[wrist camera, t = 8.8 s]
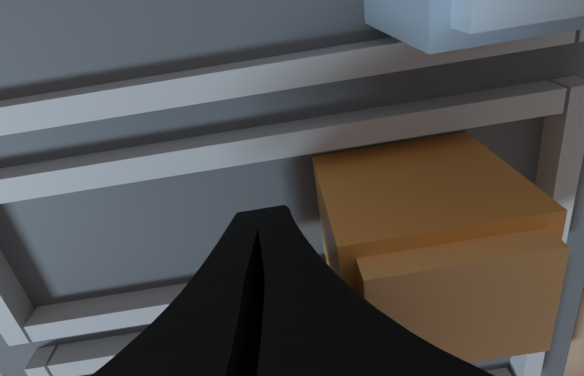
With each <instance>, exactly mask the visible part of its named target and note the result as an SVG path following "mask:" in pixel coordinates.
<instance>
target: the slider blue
mask: <svg viewBox="0 0 584 376" xmlns="http://www.w3.org/2000/svg"><path fill="white" fill-rule="evenodd" d="M363 2H364V19H365V23H366V24H368V25H370V26H372V27H374V28H376V29H378V30H380V31H382V32H384V33H386V34H388V35H390V36H392V37H394V38H396V39H398V40H400V41H402V42H404V43H406V44H408V45H410V46H412V47H415V48H417V49H419V50H421V51H423V52H425V53H427V54H435V53H441V52H447V51H453V50H459V49H465V48H472V47H478V46H484V45H490V44H496V43H502V42H509V41H515V40H521V39H527V38H533V37H539V36H546V35H552V34H558V33H564V32H570V31H576V30H583V29H584V0H363Z"/></svg>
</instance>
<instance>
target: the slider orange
mask: <svg viewBox="0 0 584 376" xmlns="http://www.w3.org/2000/svg"><path fill="white" fill-rule="evenodd" d="M312 162H313V170H314V177H315V185H316V192H317V200H318V207H319V215H320V222H321V230H322V237H323V245H324V252H325V256H326V260H327V264H328V265H329V266H330V267H331V269H332V270H333V271H334V272H335V273H336V274H337V275H338V276H339V277H340V278H341V279H342V280H344V281H345V282H346V283H347V284H348V285H349V286H350V287H351V288H352V289H354V290H355V291H356V292H357V293H358V294H359V295H361V296H362V297H363V298H364V299H366V300H367V301H368V302H369V303H371V304H372V305H373V306H374V307H376V308H377V309H378V310H380V311H381V312H383V313H384V314H386V315H387V316H389V317H390V318H392V319H393V320H394V321H396V322H397V323H399V324H400V325H402V326H403V327H405V328H406V329H408V330H409V331H411V332H412V333H414V334H415V335H417V336H419V337H420V338H422V339H424V340H426V341H427V342H429V343H431V344H432V345H434V346H436V347H438V348H440V349H442V350H444V351H446V352H448V353H450V354H452V355H454V356H456V357H458V358H460V359H462V360H464V361H466V362H468V363H475V362H481V361H487V360H494V359H500V358H506V357H512V356H519V355H525V354H531V353H538V352H544V351H550V347H551V342H552V337H553V332H554V327H555V322H556V317H557V312H558V307H559V302H560V297H561V292H562V287H563V282H564V277H565V272H566V267H567V262H568V257H569V252H570V247H569V246H568V245H567V244H566V243H565V242H563V241H562V237H563V232H564V227H565V221H566V216H567V211H568V210H567V209H565V208H564V207H563V206H561V205H560V204H559V203H557V202H556V201H555V200H554V199H552V198H551V197H550V196H548V195H547V194H546V193H545V192H543V191H542V190H541V189H539V188H538V187H537V186H536V185H534V184H533V183H532V182H530V181H529V180H528V179H527V178H525V177H524V176H523V175H521V174H520V173H519V172H517V171H516V170H515V169H514V168H512V167H511V166H510V165H508V164H507V163H506V162H505V161H503V160H502V159H501V158H499V157H498V156H497V155H496V154H494V153H493V152H492V151H490V150H489V149H488V148H487V147H485V146H484V145H483V144H481V143H480V142H479V141H478V140H476V139H475V138H474V137H472V136H471V135H470V134H468V133H467V132H461V133H454V134H448V135H442V136H436V137H430V138H423V139H417V140H411V141H405V142H398V143H392V144H386V145H380V146H374V147H367V148H361V149H355V150H349V151H343V152H336V153H330V154H324V155H318V156H312Z"/></svg>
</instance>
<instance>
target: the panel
mask: <svg viewBox="0 0 584 376" xmlns="http://www.w3.org/2000/svg"><path fill="white" fill-rule="evenodd" d="M461 132H467V133H468V134H470V135H471V136H472V137H474V138H475V139H476V140H478V141H479V142H480V143H481V144H483V145H484V146H485V147H487V148H488V149H489V150H490V151H492V152H493V153H494V154H496V155H497V156H498V157H499V158H501V159H502V160H503V161H505V162H506V163H507V164H508V165H510V166H511V167H512V168H514V169H515V170H516V171H517V172H519V173H520V174H521V175H523V176H524V177H525V178H527V179H528V180H529V181H530V182H532V183H533V184H534V185H536V186H537V187H538V188H539V189H541V190H542V191H543V192H545V193H546V194H547V195H548V196H550V197H551V198H552V199H554V200H555V201H556V202H557V203H559V204H560V205H561V206H563V207H564V208H565V209H567V210H568V211H567V216H566V221H565V227H564V232H563V237H562V241H563V242H565V243H566V244H567V245H568V246H569V247H570V252H569V257H568V262H567V267H566V272H565V277H564V282H563V287H562V292H561V297H560V302H559V307H558V312H557V317H556V322H555V327H554V332H553V337H552V342H551V347H550V351H544V352H538V353H531V354H525V355H519V356H512V357H506V358H500V359H494V360H487V361H481V362H475V363H470V364H472V365H474V366H476V367H478V368H480V369H482V370H484V371H486V372H488V373H491V374H493V375H495V376H563V374H564V370H565V365H566V361H567V357H568V352H569V348H570V344H571V339H572V335H573V331H574V326H575V322H576V318H577V313H578V309H579V305H580V300H581V296H582V292H583V287H584V29H583V30H576V31H570V32H564V33H558V34H552V35H546V36H539V37H533V38H527V39H521V40H515V41H509V42H502V43H496V44H490V45H484V46H478V47H472V48H465V49H459V50H453V51H447V52H441V53H435V54H427V53H425V52H423V51H421V50H419V49H417V48H415V47H412V46H410V45H408V44H406V43H404V42H402V41H400V40H398V39H396V38H394V37H392V36H390V35H388V34H386V33H384V32H382V31H380V30H378V29H376V28H374V27H372V26H370V25H368V24H366V23H365V19H364V2H363V0H0V372H1V373H2V375H3V376H91V375H92V374H93V373H95V372H96V371H97V370H98V369H100V368H101V367H102V366H104V365H105V364H106V363H107V362H108V361H110V360H111V359H112V358H113V357H114V356H115V355H117V354H118V353H119V352H120V351H121V350H122V349H123V348H124V347H126V346H127V345H128V344H129V343H130V342H131V341H132V340H133V339H135V338H136V337H137V336H138V335H139V334H140V333H141V332H142V331H144V330H145V329H146V328H147V327H148V326H149V325H150V324H151V323H152V322H153V321H154V320H155V319H156V318H157V317H158V316H159V315H160V314H161V313H162V312H163V311H164V310H165V309H166V308H167V307H168V306H169V305H170V303H171V302H172V301H173V300H174V299H175V298H176V297H177V296H178V295H179V293H180V292H181V291H182V290H183V289H184V287H185V286H186V285H187V283H188V282H189V281H190V280H191V278H192V277H193V276H194V275H195V273H196V272H197V271H198V270H199V268H200V267H201V266H202V264H203V263H204V261H205V260H206V258H207V257H208V256H209V254H210V253H211V251H212V250H213V248H214V247H215V246H216V244H217V242H218V241H219V239H220V238H221V236H222V235H223V233H224V232H225V230H226V228H227V227H228V225H229V224H230V222H231V220H232V219H233V217H234V216H235V215H236V213H237V212H243V211H249V210H256V209H262V208H268V207H274V206H280V205H286V206H287V207H288V208H290V212H291V214H292V217H293V219H294V221H295V222H296V224H297V226H298V227H299V229H300V231H301V232H302V233H303V235H304V236H305V238H306V239H307V240H308V242H309V243H310V244H311V245H312V247H313V248H314V249H315V251H316V252H317V253H318V254H319V255H320V257H321V258H322V259H323V260H324V261H325V262H326V263H327V260H326V256H325V252H324V245H323V237H322V230H321V222H320V215H319V207H318V200H317V192H316V185H315V177H314V170H313V162H312V156H318V155H324V154H330V153H336V152H343V151H349V150H355V149H361V148H367V147H374V146H380V145H386V144H392V143H398V142H405V141H411V140H417V139H423V138H430V137H436V136H442V135H448V134H454V133H461Z"/></svg>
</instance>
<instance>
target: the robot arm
mask: <svg viewBox="0 0 584 376" xmlns="http://www.w3.org/2000/svg"><path fill="white" fill-rule="evenodd" d="M91 376H495V375H493V374H491V373H488V372H486V371H484V370H482V369H480V368H478V367H476V366H474V365H472V364H470V363H468V362H466V361H464V360H462V359H460V358H458V357H456V356H454V355H452V354H450V353H448V352H446V351H444V350H442V349H440V348H438V347H436V346H434V345H432V344H431V343H429V342H427V341H426V340H424V339H422V338H420V337H419V336H417V335H415V334H414V333H412V332H411V331H409V330H408V329H406V328H405V327H403V326H402V325H400V324H399V323H397V322H396V321H394V320H393V319H392V318H390V317H389V316H387V315H386V314H384V313H383V312H381V311H380V310H378V309H377V308H376V307H374V306H373V305H372V304H371V303H369V302H368V301H367V300H366V299H364V298H363V297H362V296H361V295H359V294H358V293H357V292H356V291H355V290H354V289H352V288H351V287H350V286H349V285H348V284H347V283H346V282H345V281H344V280H342V279H341V278H340V277H339V276H338V275H337V274H336V273H335V272H334V271H333V270H332V269H331V267H330V266H329V265H328V264H327V263H326V262H325V261H324V260H323V259H322V258H321V257H320V255H319V254H318V253H317V252H316V251H315V249H314V248H313V247H312V245H311V244H310V243H309V242H308V240H307V239H306V238H305V236H304V235H303V233H302V232H301V231H300V229H299V227H298V226H297V224H296V222H295V221H294V219H293V217H292V214H291V212H290V208H288V207H287V206H286V205H280V206H274V207H268V208H262V209H256V210H249V211H243V212H237V213H236V215H235V216H234V217H233V219H232V220H231V222H230V224H229V225H228V227H227V228H226V230H225V232H224V233H223V235H222V236H221V238H220V239H219V241H218V242H217V244H216V246H215V247H214V248H213V250H212V251H211V253H210V254H209V256H208V257H207V258H206V260H205V261H204V263H203V264H202V266H201V267H200V268H199V270H198V271H197V272H196V273H195V275H194V276H193V277H192V278H191V280H190V281H189V282H188V283H187V285H186V286H185V287H184V289H183V290H182V291H181V292H180V293H179V295H178V296H177V297H176V298H175V299H174V300H173V301H172V302H171V303H170V305H169V306H168V307H167V308H166V309H165V310H164V311H163V312H162V313H161V314H160V315H159V316H158V317H157V318H156V319H155V320H154V321H153V322H152V323H151V324H150V325H149V326H148V327H147V328H146V329H145V330H144V331H142V332H141V333H140V334H139V335H138V336H137V337H136V338H135V339H133V340H132V341H131V342H130V343H129V344H128V345H127V346H126V347H124V348H123V349H122V350H121V351H120V352H119V353H118V354H117V355H115V356H114V357H113V358H112V359H111V360H110V361H108V362H107V363H106V364H105V365H104V366H102V367H101V368H100V369H98V370H97V371H96V372H95V373H93V374H92V375H91Z"/></svg>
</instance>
